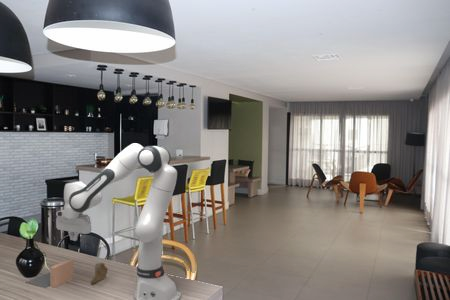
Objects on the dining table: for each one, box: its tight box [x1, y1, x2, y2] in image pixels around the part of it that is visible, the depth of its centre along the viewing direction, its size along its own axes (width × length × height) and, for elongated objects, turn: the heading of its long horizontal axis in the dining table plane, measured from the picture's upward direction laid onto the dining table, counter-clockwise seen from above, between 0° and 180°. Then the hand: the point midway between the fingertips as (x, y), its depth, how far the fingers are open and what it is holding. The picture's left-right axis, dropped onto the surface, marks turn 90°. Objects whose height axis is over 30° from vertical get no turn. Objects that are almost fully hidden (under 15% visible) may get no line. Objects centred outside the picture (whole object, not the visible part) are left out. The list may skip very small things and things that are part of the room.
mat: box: [25, 271, 50, 289], centre depth 188 cm, size 14×16×1 cm
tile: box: [49, 259, 75, 289], centre depth 184 cm, size 3×12×10 cm, turn 157°
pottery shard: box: [90, 262, 109, 285], centre depth 186 cm, size 11×4×10 cm, turn 152°
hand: (73, 240), depth 180 cm, fingers closed
